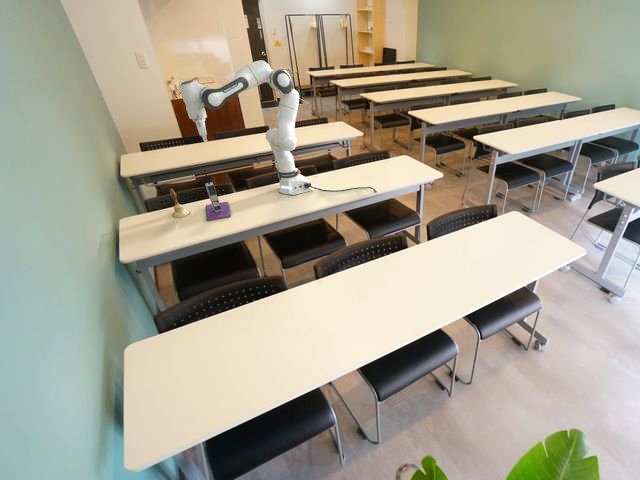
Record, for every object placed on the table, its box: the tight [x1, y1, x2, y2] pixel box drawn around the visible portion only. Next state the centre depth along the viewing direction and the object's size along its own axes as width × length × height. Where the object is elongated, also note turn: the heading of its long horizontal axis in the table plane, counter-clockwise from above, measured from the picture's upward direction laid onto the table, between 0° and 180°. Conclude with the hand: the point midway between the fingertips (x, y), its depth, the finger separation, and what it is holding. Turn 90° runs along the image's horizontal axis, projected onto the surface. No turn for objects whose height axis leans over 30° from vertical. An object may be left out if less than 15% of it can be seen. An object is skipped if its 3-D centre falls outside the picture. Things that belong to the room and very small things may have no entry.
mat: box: [206, 201, 231, 221], centre depth 206 cm, size 12×22×1 cm, turn 27°
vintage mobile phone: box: [203, 169, 222, 212], centre depth 198 cm, size 4×5×25 cm
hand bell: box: [169, 188, 190, 218], centre depth 198 cm, size 8×8×16 cm
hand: (205, 140), depth 194 cm, fingers open, 8 cm apart
